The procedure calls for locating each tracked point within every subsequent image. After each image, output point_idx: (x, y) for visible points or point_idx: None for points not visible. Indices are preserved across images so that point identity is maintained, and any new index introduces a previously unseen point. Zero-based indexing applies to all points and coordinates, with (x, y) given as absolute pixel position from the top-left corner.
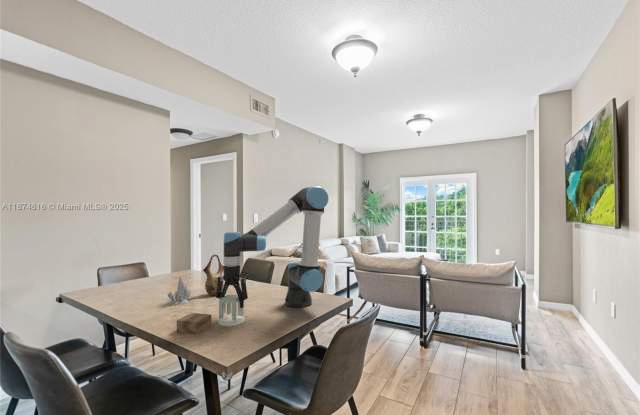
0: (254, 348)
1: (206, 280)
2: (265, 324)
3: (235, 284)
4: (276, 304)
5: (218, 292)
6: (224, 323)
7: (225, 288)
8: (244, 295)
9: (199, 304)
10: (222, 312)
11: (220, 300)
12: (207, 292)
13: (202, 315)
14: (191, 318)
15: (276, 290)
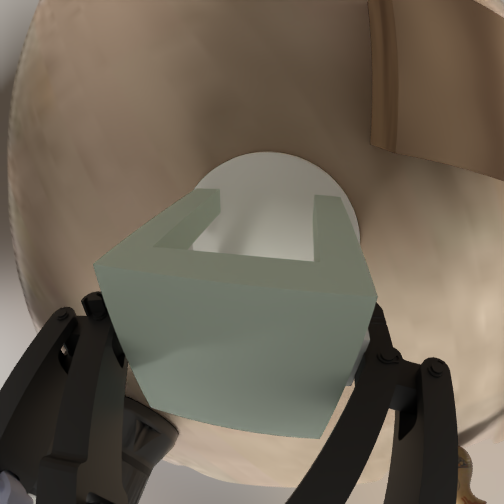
0: (38, 21)
1: (470, 479)
2: (84, 236)
3: (39, 489)
4: (194, 425)
5: (426, 423)
6: (281, 172)
7: (288, 500)
8: (38, 337)
9: (485, 394)
10: (315, 224)
11: (346, 278)
12: (462, 448)
13: (457, 124)
14: (487, 54)
15: (265, 482)
